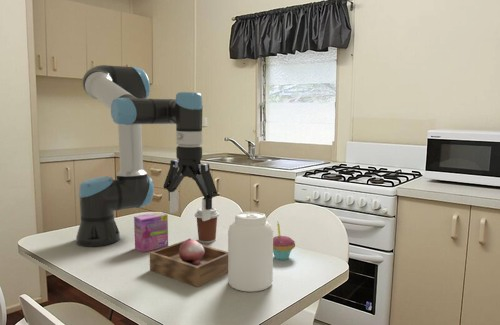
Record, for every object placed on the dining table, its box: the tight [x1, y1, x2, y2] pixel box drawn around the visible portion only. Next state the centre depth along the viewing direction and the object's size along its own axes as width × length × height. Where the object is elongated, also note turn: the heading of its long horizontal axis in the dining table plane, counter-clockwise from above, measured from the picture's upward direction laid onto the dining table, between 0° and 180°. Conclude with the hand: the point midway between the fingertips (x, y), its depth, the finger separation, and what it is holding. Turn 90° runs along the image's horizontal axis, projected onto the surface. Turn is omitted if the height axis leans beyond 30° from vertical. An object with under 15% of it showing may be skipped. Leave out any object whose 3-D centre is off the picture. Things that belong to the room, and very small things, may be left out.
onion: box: [179, 237, 205, 264], centre depth 123 cm, size 8×8×7 cm
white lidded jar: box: [227, 211, 274, 293], centre depth 113 cm, size 12×12×20 cm
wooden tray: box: [149, 239, 228, 288], centre depth 123 cm, size 20×15×6 cm
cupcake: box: [273, 220, 296, 261], centre depth 134 cm, size 9×8×12 cm
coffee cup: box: [194, 206, 220, 244], centre depth 151 cm, size 9×9×12 cm
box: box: [133, 211, 169, 253], centre depth 143 cm, size 10×6×12 cm, turn 131°
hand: (189, 216), depth 121 cm, fingers open, 13 cm apart
